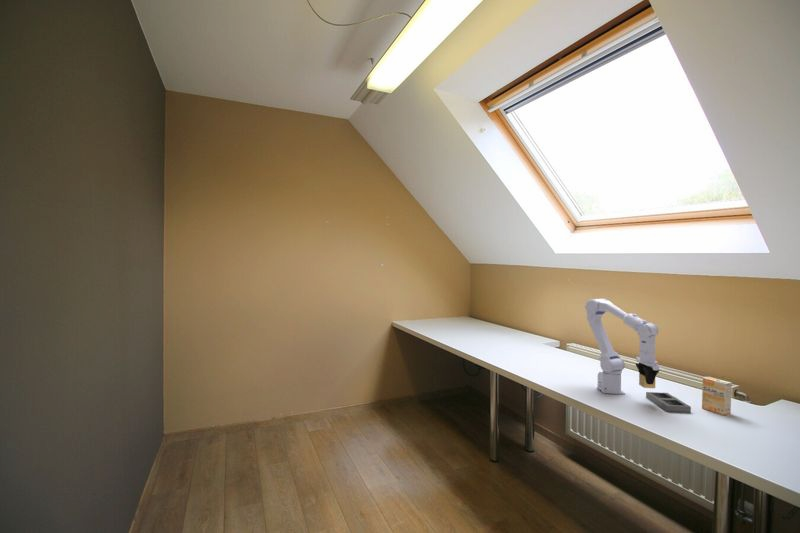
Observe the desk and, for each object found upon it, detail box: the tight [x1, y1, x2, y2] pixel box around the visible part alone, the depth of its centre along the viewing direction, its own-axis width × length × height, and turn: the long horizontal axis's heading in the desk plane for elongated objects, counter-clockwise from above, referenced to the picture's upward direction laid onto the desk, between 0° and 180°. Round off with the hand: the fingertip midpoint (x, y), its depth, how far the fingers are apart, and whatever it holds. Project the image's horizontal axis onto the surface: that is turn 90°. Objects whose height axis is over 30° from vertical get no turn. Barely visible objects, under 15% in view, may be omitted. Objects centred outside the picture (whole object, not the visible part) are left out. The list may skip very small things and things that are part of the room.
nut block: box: [638, 372, 656, 389], centre depth 164 cm, size 4×4×5 cm
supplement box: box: [701, 376, 733, 416], centre depth 155 cm, size 8×5×13 cm, turn 23°
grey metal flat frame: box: [645, 391, 692, 414], centre depth 162 cm, size 9×16×2 cm, turn 174°
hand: (647, 382), depth 164 cm, fingers closed on nut block, 4 cm apart
